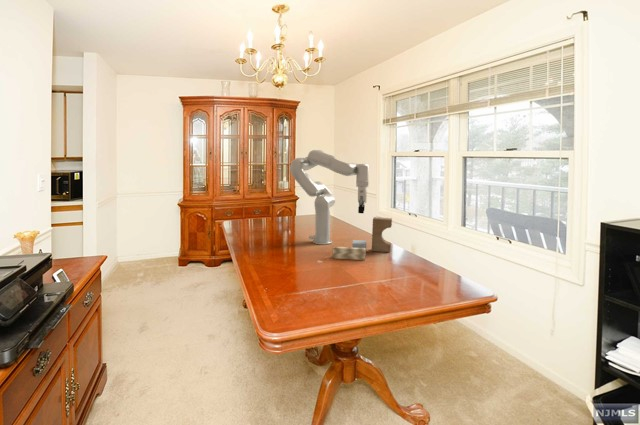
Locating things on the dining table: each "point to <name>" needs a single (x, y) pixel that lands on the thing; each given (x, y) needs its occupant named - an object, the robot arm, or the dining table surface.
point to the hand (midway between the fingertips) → (361, 211)
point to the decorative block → (380, 234)
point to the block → (359, 244)
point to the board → (349, 253)
